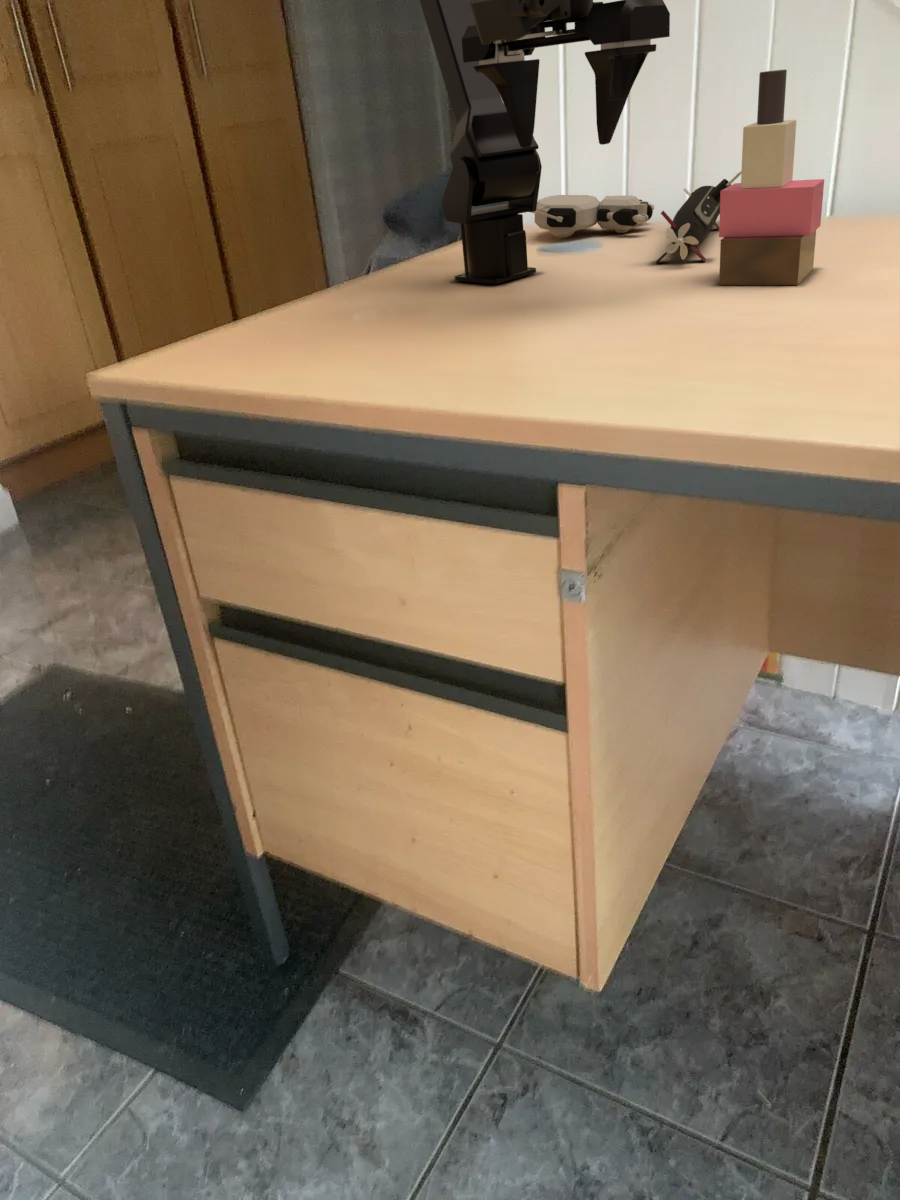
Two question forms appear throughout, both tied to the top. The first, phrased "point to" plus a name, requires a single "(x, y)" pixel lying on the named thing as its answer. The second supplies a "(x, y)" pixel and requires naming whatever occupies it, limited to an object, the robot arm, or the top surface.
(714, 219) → the submarine model
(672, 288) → the top surface
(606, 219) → the robot toy
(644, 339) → the top surface
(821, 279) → the top surface
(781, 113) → the pink and tan tower
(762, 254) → the block
